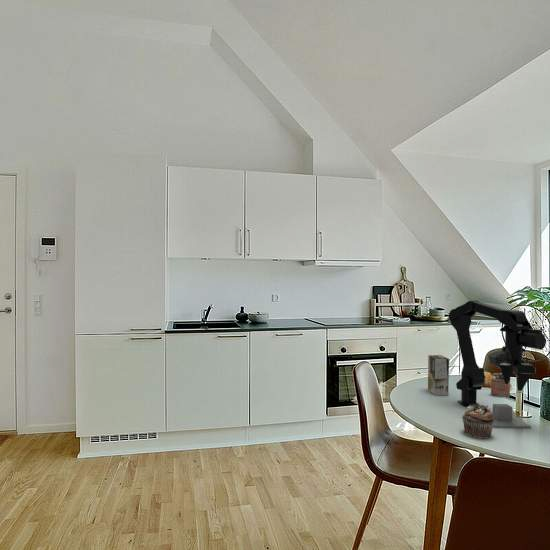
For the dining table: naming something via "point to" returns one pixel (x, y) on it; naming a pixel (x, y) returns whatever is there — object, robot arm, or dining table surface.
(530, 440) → the dining table surface
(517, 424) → the coaster
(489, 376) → the croissant
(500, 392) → the lighter
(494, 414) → the plug
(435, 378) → the coffee box
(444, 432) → the dining table surface
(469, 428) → the cupcake
